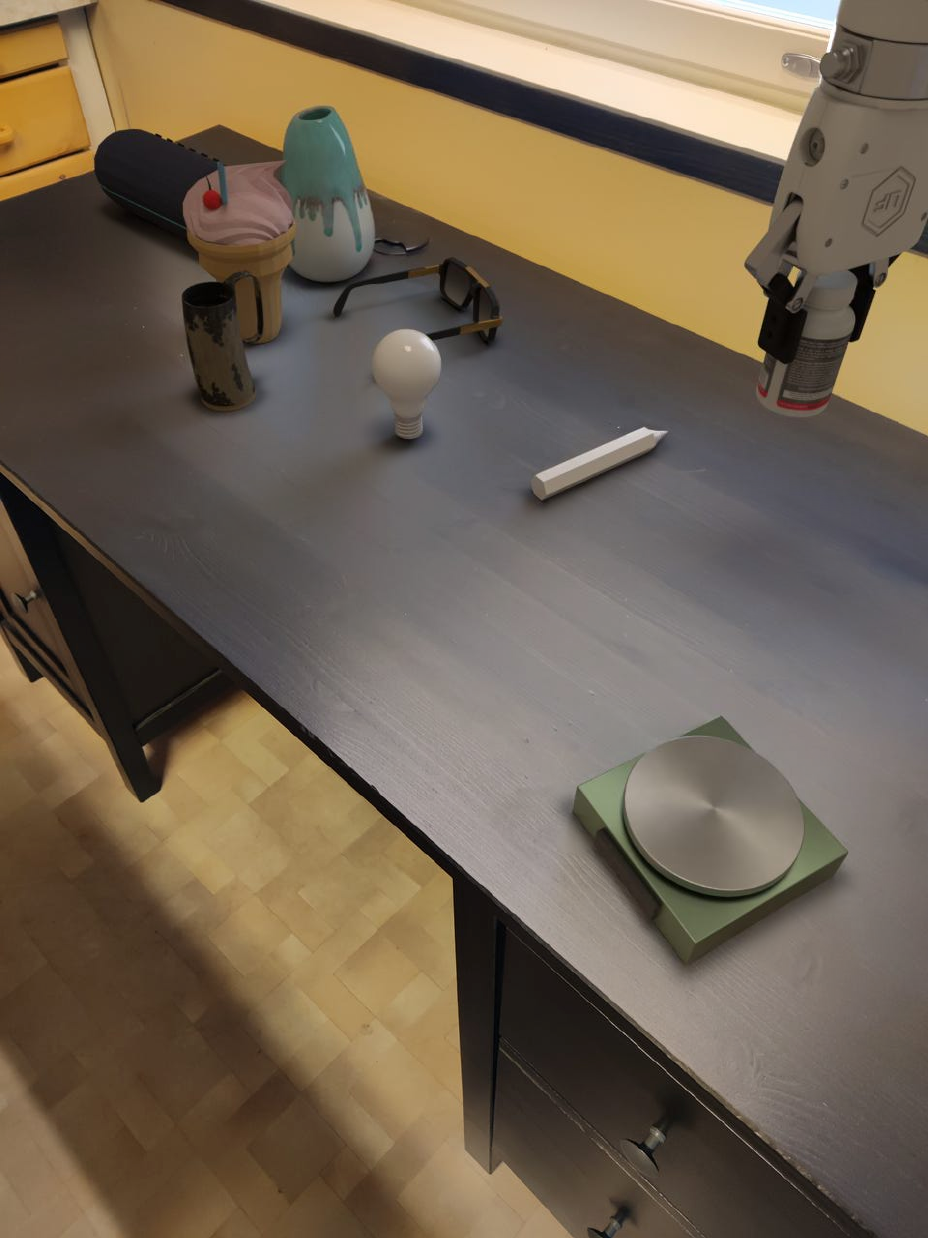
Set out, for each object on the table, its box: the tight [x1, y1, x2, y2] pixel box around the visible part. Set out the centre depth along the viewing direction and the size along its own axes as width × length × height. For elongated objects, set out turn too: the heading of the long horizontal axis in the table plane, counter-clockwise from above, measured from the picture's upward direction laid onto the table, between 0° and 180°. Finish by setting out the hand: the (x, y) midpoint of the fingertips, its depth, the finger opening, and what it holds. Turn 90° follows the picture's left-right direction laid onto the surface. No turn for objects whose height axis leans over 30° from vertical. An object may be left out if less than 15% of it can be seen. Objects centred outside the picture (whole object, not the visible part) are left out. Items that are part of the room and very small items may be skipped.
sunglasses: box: [332, 256, 504, 342], centre depth 102 cm, size 14×15×5 cm
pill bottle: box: [755, 269, 857, 418], centre depth 67 cm, size 5×5×10 cm
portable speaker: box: [93, 128, 228, 241], centre depth 117 cm, size 25×10×10 cm, turn 49°
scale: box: [572, 714, 849, 966], centre depth 59 cm, size 12×12×3 cm
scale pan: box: [623, 736, 805, 897], centre depth 58 cm, size 11×11×1 cm
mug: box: [181, 270, 264, 412], centre depth 91 cm, size 8×6×12 cm
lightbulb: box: [371, 328, 442, 440], centre depth 86 cm, size 6×6×11 cm
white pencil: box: [529, 426, 669, 501], centre depth 87 cm, size 3×2×16 cm
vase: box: [279, 105, 376, 283], centre depth 107 cm, size 12×12×18 cm
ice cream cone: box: [183, 160, 296, 345], centre depth 96 cm, size 11×11×20 cm
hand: (808, 341), depth 67 cm, fingers closed on pill bottle, 5 cm apart
